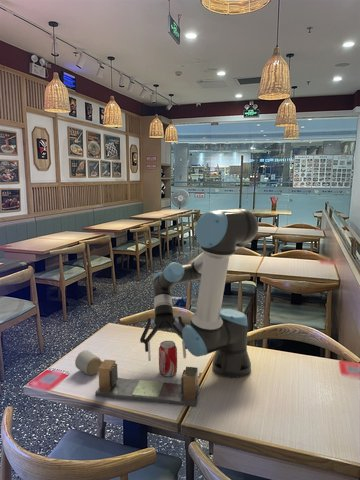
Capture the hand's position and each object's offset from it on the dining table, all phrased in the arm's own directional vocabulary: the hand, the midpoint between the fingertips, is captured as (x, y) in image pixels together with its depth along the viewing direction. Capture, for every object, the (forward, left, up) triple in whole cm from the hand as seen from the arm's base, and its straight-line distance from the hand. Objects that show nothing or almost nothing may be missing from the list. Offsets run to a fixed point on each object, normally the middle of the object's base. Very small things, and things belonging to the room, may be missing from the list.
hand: (167, 358), depth 134 cm
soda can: (0, -1, -6) cm, 7 cm away
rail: (+4, +13, -6) cm, 15 cm away
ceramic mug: (+30, +2, -7) cm, 31 cm away
